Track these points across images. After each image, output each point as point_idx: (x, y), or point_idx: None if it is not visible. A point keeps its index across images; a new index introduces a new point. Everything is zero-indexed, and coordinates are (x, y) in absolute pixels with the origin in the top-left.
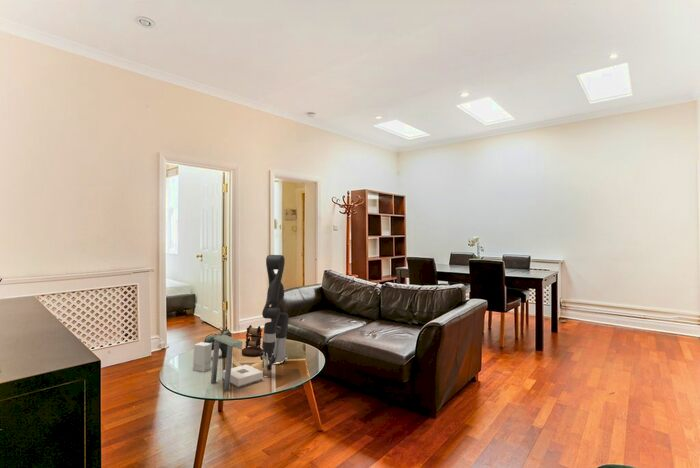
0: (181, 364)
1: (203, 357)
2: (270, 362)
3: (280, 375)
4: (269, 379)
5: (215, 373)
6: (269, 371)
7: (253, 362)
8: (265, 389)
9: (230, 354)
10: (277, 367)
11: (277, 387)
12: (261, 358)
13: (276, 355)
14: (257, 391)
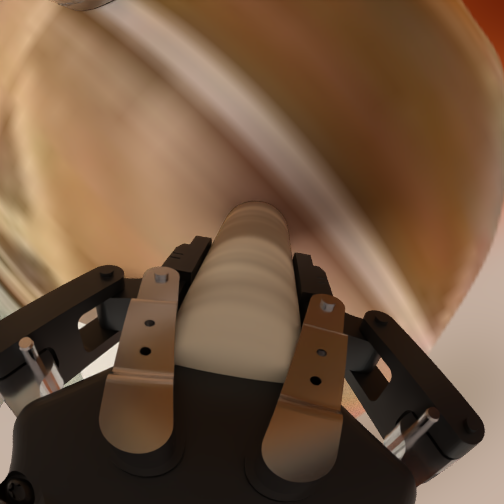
0: None
1: (2, 401)
2: (352, 375)
3: (353, 133)
4: (330, 270)
5: None
6: (290, 247)
7: (3, 110)
8: (388, 378)
9: None
10: (179, 4)
11: (438, 327)
12: (116, 337)
13: (477, 428)
14: (362, 406)
